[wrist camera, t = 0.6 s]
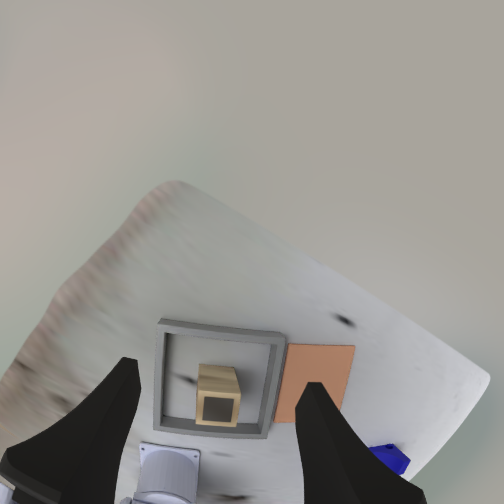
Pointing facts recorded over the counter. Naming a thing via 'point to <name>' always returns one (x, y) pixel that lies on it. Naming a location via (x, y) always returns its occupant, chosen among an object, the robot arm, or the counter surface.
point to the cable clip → (391, 457)
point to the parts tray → (222, 334)
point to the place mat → (312, 375)
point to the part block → (217, 396)
